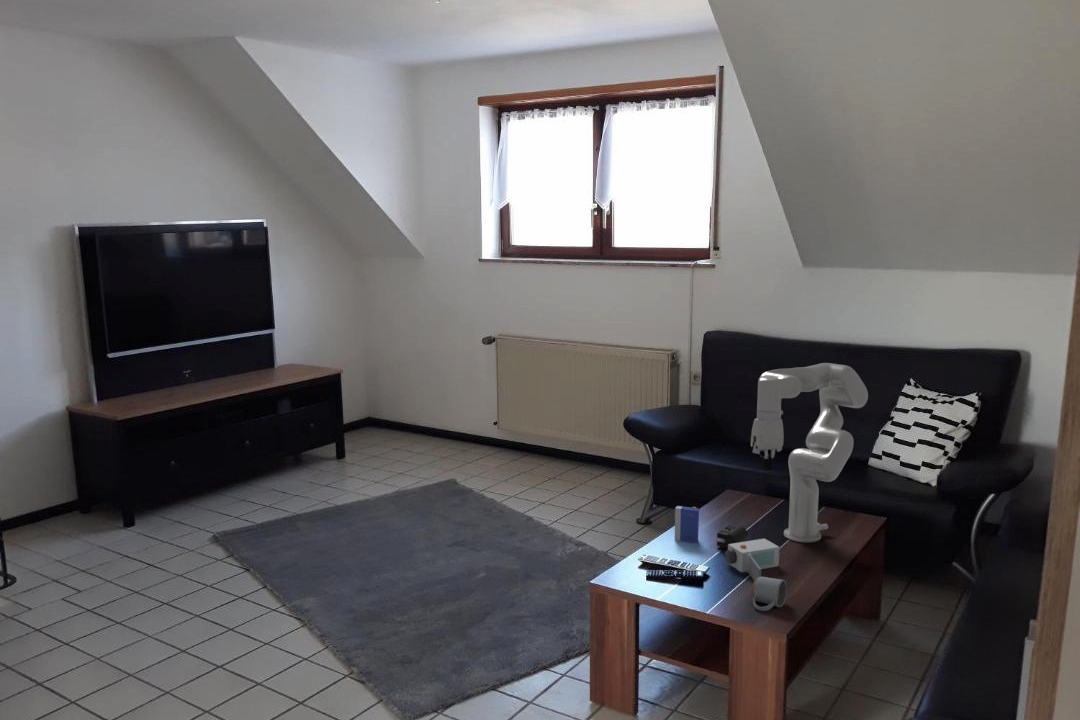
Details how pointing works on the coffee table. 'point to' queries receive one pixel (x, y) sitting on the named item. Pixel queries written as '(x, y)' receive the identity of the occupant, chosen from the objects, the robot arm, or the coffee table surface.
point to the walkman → (686, 524)
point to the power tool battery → (731, 537)
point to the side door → (753, 568)
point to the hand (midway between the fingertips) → (766, 469)
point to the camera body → (760, 550)
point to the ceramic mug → (769, 592)
